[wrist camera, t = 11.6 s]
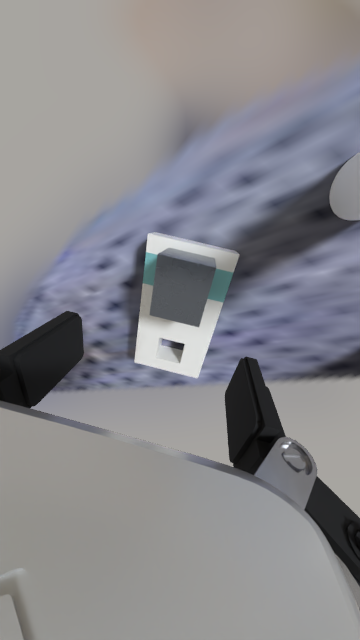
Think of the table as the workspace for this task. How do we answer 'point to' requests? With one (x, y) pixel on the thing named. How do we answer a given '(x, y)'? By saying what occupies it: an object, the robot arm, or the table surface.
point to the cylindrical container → (347, 190)
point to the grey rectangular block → (181, 286)
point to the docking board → (190, 336)
